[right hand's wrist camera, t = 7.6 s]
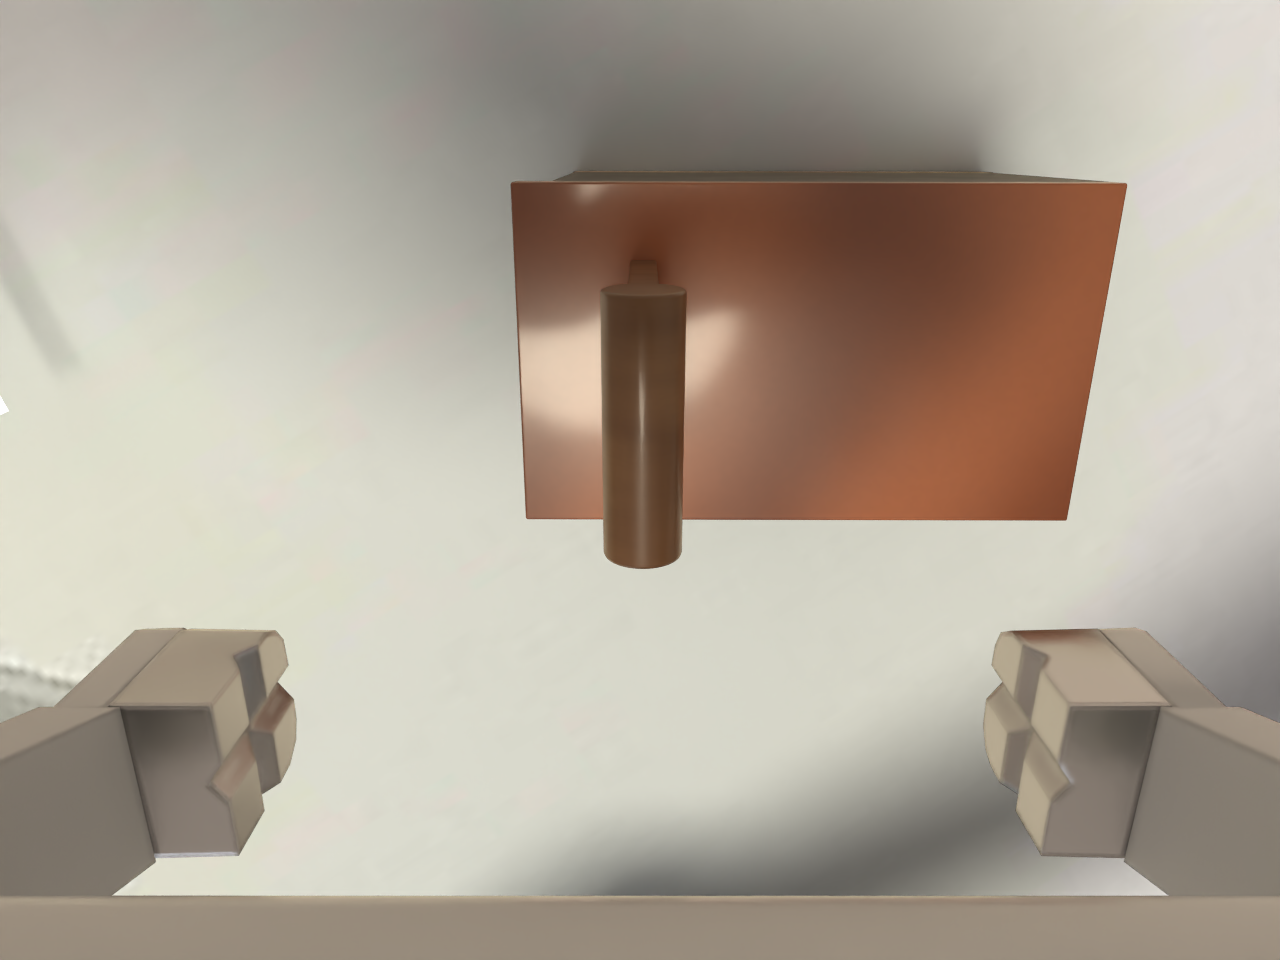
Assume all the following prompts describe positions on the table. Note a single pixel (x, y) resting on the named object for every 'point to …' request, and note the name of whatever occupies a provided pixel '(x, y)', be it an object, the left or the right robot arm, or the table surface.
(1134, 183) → the table surface
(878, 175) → the chest
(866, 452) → the lid
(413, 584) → the table surface
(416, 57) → the table surface
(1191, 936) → the right robot arm
